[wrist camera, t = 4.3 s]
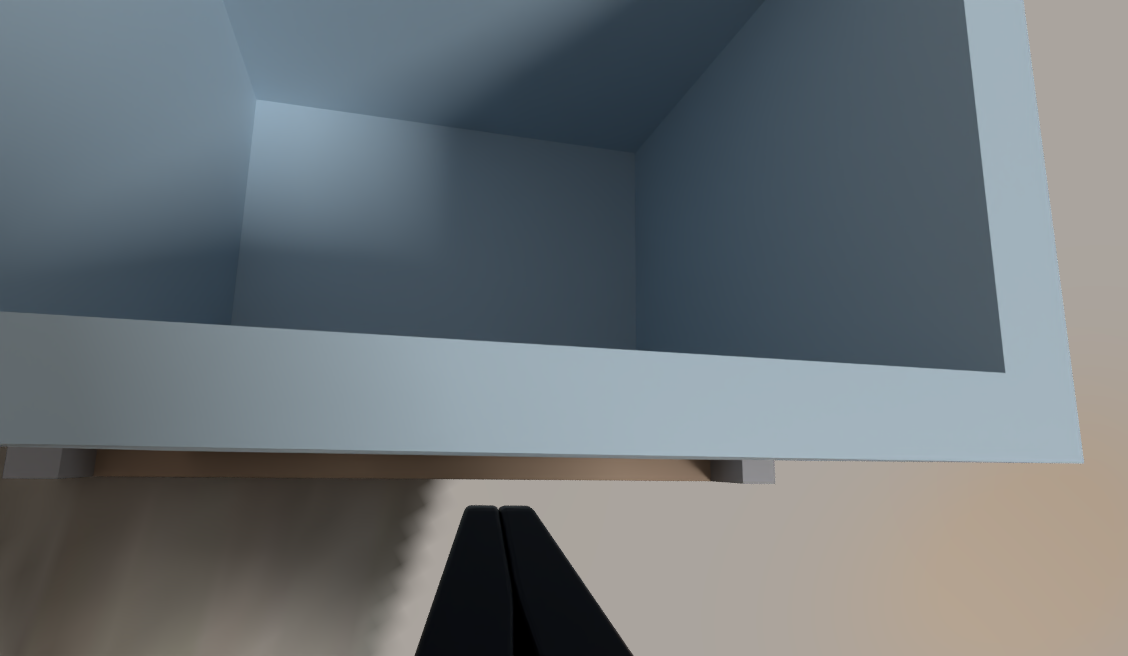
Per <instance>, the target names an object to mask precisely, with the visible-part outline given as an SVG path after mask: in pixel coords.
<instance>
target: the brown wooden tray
mask: <svg viewBox="0 0 1128 656" xmlns="http://www.w3.org/2000/svg"><path fill="white" fill-rule="evenodd" d="M90 476H125V477H252V478H379V479H509V480H635V481H640V480H641V481H642V480H643V481H647V480H648V481H716V482H730V483H743V484H775V467H774V460H701V459H624V458H564V457H505V456H446V455H386V454H327V453H267V452H208V451H160V450H122V449H84V448H46V447H8V448H7V453H6V459H5V465H4V471H3V477H2V478H22V479H61V478H75V477H90Z"/></svg>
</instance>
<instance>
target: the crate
mask: <svg viewBox="0 0 1128 656" xmlns="http://www.w3.org/2000/svg"><path fill="white" fill-rule="evenodd" d="M0 446H8V447H46V448H84V449H122V450H160V451H208V452H267V453H327V454H386V455H446V456H505V457H564V458H624V459H701V460H799V461H802V460H803V461H804V460H805V461H897V462H905V461H906V462H908V461H909V462H997V463H998V462H999V463H1084V459H1083V452H1082V444H1081V436H1080V429H1079V421H1078V414H1077V406H1076V398H1075V390H1074V383H1073V376H1072V368H1071V360H1070V352H1069V345H1068V337H1067V329H1066V322H1065V314H1064V307H1063V299H1062V292H1061V284H1060V276H1059V268H1058V261H1057V254H1056V245H1055V238H1054V231H1053V223H1052V215H1051V207H1050V201H1049V192H1048V184H1047V177H1046V170H1045V161H1044V155H1043V146H1042V139H1041V131H1040V124H1039V116H1038V108H1037V100H1036V93H1035V85H1034V78H1033V70H1032V62H1031V55H1030V47H1029V39H1028V32H1027V24H1026V18H1025V9H1024V1H1023V0H0Z"/></svg>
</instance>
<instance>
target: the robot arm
mask: <svg viewBox="0 0 1128 656" xmlns="http://www.w3.org/2000/svg"><path fill="white" fill-rule="evenodd" d="M415 656H633V654H632V653H631V651H630V650H629V649H628V647H627V646H626V644H625V643H624V641H623V640H622V638H621V637H620V635H619V634H618V632H617V631H616V630H615V628H614V627H613V625H612V624H611V622H610V621H609V619H608V618H607V616H606V615H605V614H604V612H603V611H602V609H601V608H600V606H599V605H598V603H597V602H596V601H595V599H594V598H593V596H592V595H591V593H590V592H589V590H588V589H587V587H586V586H585V584H584V583H583V581H582V580H581V578H580V577H579V576H578V574H577V573H576V571H575V570H574V568H573V567H572V565H571V564H570V562H569V561H568V560H567V558H566V557H565V555H564V554H563V552H562V551H561V549H560V548H559V546H558V545H557V543H556V542H555V541H554V539H553V538H552V536H551V535H550V533H549V532H548V530H547V529H546V527H545V526H544V525H543V523H542V522H541V520H540V519H539V517H538V516H537V514H536V513H535V511H534V510H533V509H532V508H530V507H528V506H502V507H500V508H499V510H498V509H497V507H495V506H482V505H478V506H477V505H476V506H475V505H474V506H473V505H471V506H468V507H466V509H465V511H464V513H463V516H462V519H461V522H460V525H459V528H458V530H457V534H456V536H455V539H454V542H453V545H452V548H451V551H450V554H449V557H448V560H447V563H446V565H445V569H444V571H443V574H442V577H441V580H440V583H439V586H438V589H437V592H436V595H435V598H434V601H433V603H432V607H431V609H430V612H429V615H428V618H427V621H426V624H425V627H424V630H423V633H422V636H421V639H420V642H419V645H418V647H417V650H416V653H415Z"/></svg>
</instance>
